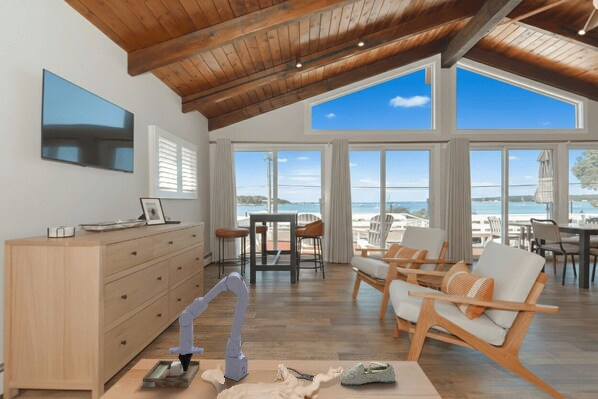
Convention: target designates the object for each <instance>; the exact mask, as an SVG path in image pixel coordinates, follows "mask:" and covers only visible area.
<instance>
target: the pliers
mask: <svg viewBox="0 0 598 399" xmlns="http://www.w3.org/2000/svg"><path fill="white" fill-rule="evenodd" d="M287 370H291V371H293V372H295V373H297V374H299V375H300V376H295V377H296V378H298V379H303V380H308V381H310V382H313V381H312V380H313V378H314V376H315V375H313V374H308V373H302V372H300V371H298V370H297V369H295V368H292V367H287Z"/></svg>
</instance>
